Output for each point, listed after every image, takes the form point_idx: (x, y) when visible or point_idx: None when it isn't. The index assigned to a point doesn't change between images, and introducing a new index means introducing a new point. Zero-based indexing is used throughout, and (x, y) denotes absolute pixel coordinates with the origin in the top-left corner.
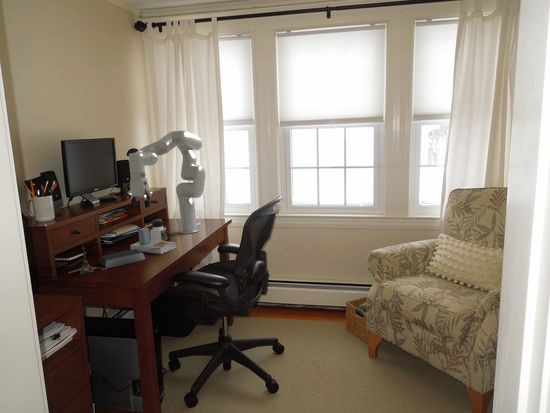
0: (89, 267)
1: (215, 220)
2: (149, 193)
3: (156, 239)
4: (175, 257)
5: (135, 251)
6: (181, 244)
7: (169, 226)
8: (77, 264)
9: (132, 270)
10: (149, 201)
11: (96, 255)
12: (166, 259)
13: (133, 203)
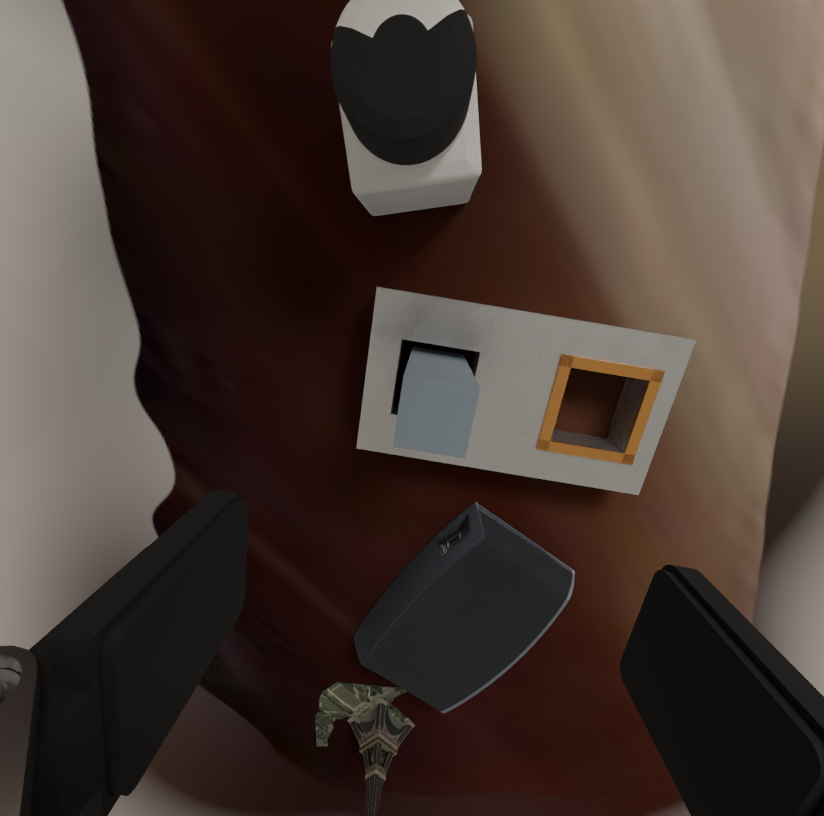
0: (399, 744)
1: None
2: None
3: (422, 206)
4: (747, 523)
5: (509, 583)
6: (678, 245)
7: None
8: (256, 663)
9: (596, 699)
10: (820, 702)
11: None
12: (703, 558)
13: (197, 660)
